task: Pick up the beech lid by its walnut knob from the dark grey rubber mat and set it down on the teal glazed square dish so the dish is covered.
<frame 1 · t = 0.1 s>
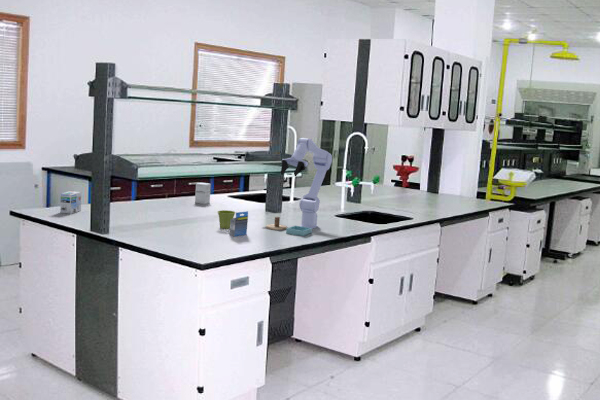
hand: (288, 174, 332), 32 cm above the table, tool tilted 50°, fingers open, 7 cm apart
dish: (298, 233, 343), on the table
supplement box: (202, 203, 417), on the table
mat: (276, 228, 352), on the table
label tape box: (238, 235, 330), on the table
plant pot: (225, 228, 345), on the table
lid: (276, 222, 351), on the mat
light bulb box: (70, 212, 359), on the table
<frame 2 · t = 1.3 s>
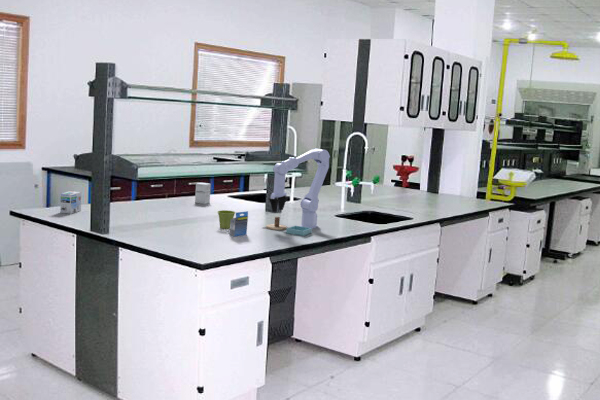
hand: (277, 210, 350), 10 cm above the table, tool pointing down, fingers open, 7 cm apart
nothing on the table moved.
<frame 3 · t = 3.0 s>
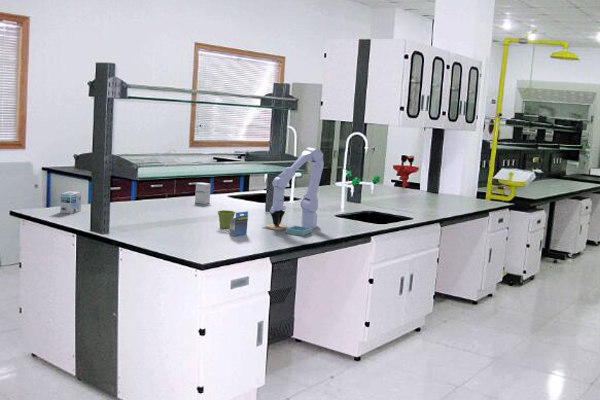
hand: (276, 224, 351), 2 cm above the table, tool pointing down, fingers closed on lid, 3 cm apart
lid: (276, 222, 351), on the mat, touching gripper
everything else where it was.
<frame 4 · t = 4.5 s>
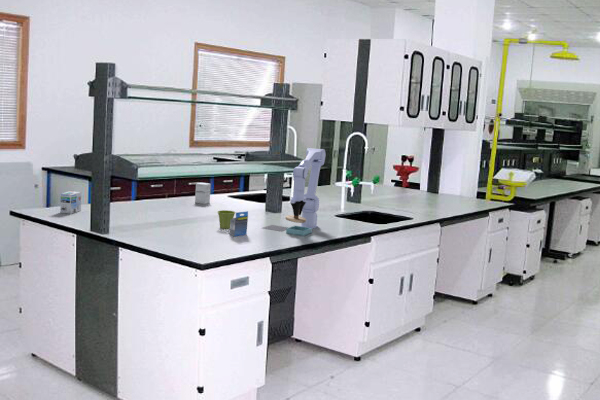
hand: (297, 215, 342), 10 cm above the table, tool pointing down, fingers closed on lid, 3 cm apart
lid: (296, 214, 342), point 10 cm above the table, tilted 6°, touching gripper
everything else where it was.
when the fingers open (6 cm above the table, at t = 5.5 s): lid stays where it is, resting on dish.
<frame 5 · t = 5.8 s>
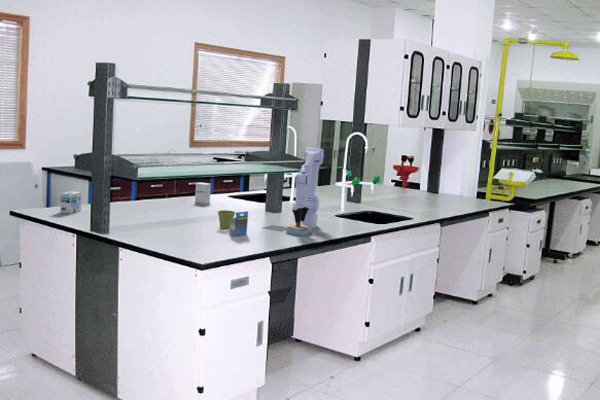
hand: (299, 221, 342), 6 cm above the table, tool pointing down, fingers open, 5 cm apart
lid: (298, 222, 342), on the dish, point 6 cm above the table
everything else where it was.
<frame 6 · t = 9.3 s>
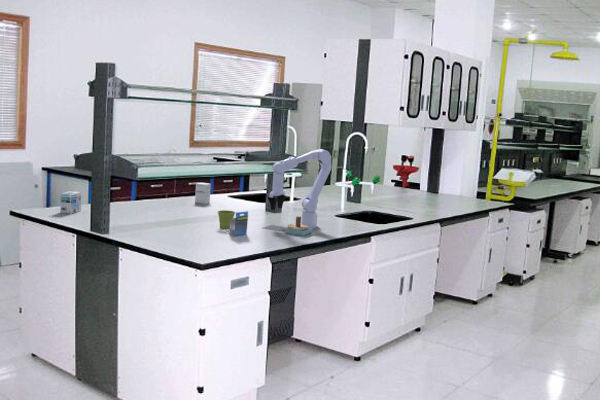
hand: (276, 209, 355), 10 cm above the table, tool pointing down, fingers open, 7 cm apart
nothing on the table moved.
at the end: lid 0.8 cm off-centre on the dish, point 6.0 cm above the dish's base; lid tilted 0°; the gripper is holding nothing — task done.
